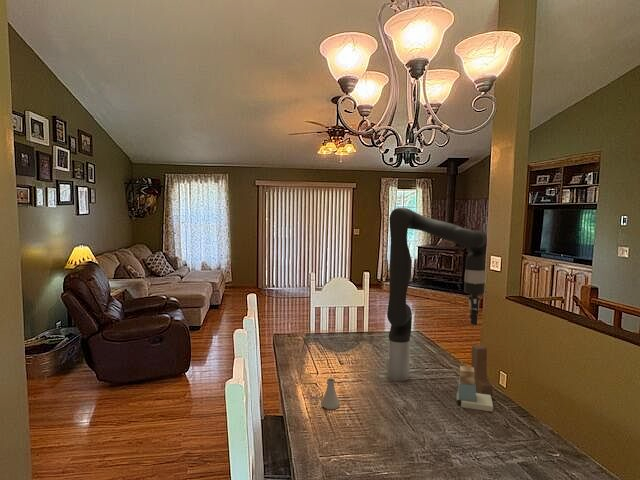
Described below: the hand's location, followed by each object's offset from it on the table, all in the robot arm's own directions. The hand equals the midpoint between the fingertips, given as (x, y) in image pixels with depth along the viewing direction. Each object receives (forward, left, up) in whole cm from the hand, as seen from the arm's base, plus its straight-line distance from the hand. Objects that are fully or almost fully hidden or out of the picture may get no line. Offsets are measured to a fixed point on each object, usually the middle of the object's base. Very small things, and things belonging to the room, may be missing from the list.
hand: (473, 321), depth 158 cm
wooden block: (+4, +5, -30) cm, 31 cm away
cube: (-2, -7, -28) cm, 29 cm away
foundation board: (+2, -7, -30) cm, 31 cm away
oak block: (-2, -7, -22) cm, 23 cm away
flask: (-51, -27, -30) cm, 65 cm away
